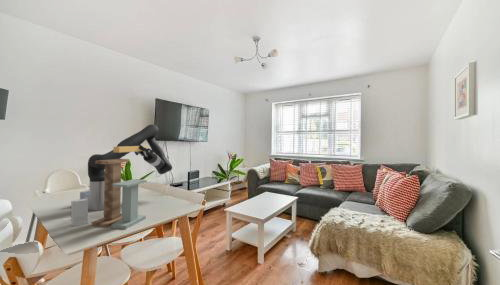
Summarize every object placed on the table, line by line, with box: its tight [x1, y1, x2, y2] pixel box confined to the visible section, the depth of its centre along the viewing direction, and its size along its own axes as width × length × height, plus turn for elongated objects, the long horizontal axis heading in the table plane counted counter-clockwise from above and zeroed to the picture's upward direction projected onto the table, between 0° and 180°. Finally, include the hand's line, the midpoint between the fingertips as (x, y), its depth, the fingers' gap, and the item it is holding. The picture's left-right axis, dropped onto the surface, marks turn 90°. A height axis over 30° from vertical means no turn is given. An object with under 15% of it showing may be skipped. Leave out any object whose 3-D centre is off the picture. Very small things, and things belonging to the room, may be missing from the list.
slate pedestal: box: [111, 178, 148, 230], centre depth 105 cm, size 8×14×21 cm, turn 170°
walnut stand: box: [90, 158, 130, 228], centre depth 107 cm, size 10×14×32 cm
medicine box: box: [79, 189, 90, 200], centre depth 134 cm, size 8×4×9 cm, turn 168°
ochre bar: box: [112, 145, 148, 153], centre depth 119 cm, size 4×22×3 cm, turn 170°
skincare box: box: [70, 198, 89, 227], centre depth 102 cm, size 6×4×12 cm
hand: (136, 146), depth 123 cm, fingers closed on ochre bar, 3 cm apart
